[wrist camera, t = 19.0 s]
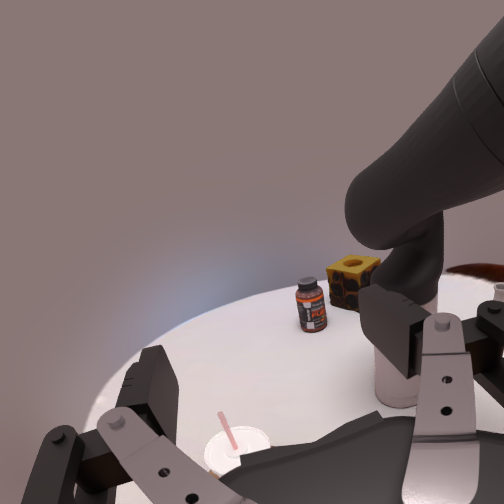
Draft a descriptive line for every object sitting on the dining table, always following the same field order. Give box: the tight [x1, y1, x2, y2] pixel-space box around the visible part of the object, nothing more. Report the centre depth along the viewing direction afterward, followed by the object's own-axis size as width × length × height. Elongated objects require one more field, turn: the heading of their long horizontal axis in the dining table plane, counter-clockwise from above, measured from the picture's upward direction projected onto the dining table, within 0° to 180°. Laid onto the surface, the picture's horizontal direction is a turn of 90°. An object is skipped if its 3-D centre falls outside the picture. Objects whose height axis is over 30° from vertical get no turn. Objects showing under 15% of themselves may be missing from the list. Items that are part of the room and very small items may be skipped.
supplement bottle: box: [296, 277, 327, 332], centre depth 66 cm, size 6×6×11 cm
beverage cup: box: [204, 412, 271, 477], centre depth 24 cm, size 6×6×14 cm
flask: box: [493, 282, 504, 302], centre depth 43 cm, size 7×7×10 cm
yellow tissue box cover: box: [326, 255, 381, 312], centre depth 72 cm, size 10×10×10 cm
